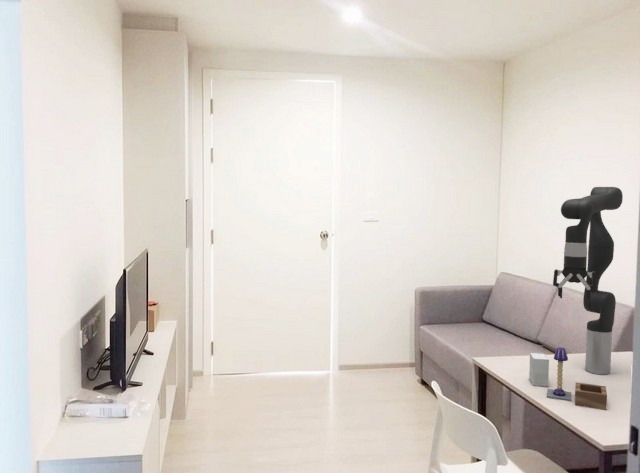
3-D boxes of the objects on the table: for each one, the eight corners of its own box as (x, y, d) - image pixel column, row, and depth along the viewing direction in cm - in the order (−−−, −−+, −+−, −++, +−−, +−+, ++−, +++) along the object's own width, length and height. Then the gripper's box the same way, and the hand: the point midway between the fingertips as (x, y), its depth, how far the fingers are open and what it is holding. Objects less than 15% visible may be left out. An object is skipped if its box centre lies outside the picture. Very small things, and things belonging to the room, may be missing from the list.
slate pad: (547, 390, 201) (547, 388, 201) (571, 393, 197) (571, 392, 197) (546, 397, 194) (546, 395, 193) (571, 401, 190) (571, 399, 190)
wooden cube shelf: (575, 395, 195) (575, 382, 195) (605, 400, 191) (605, 386, 191) (574, 405, 187) (575, 390, 186) (606, 409, 183) (607, 395, 182)
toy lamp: (549, 391, 198) (551, 346, 196) (562, 391, 198) (563, 346, 197) (556, 396, 193) (558, 350, 192) (569, 396, 193) (571, 350, 192)
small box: (548, 386, 204) (549, 359, 204) (532, 385, 205) (533, 358, 205) (544, 379, 212) (545, 353, 211) (528, 378, 213) (529, 352, 212)
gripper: (596, 254, 198) (595, 298, 199) (554, 252, 204) (552, 295, 205) (597, 256, 191) (595, 302, 193) (553, 254, 197) (552, 298, 199)
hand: (573, 298), depth 199 cm, fingers open, 8 cm apart
